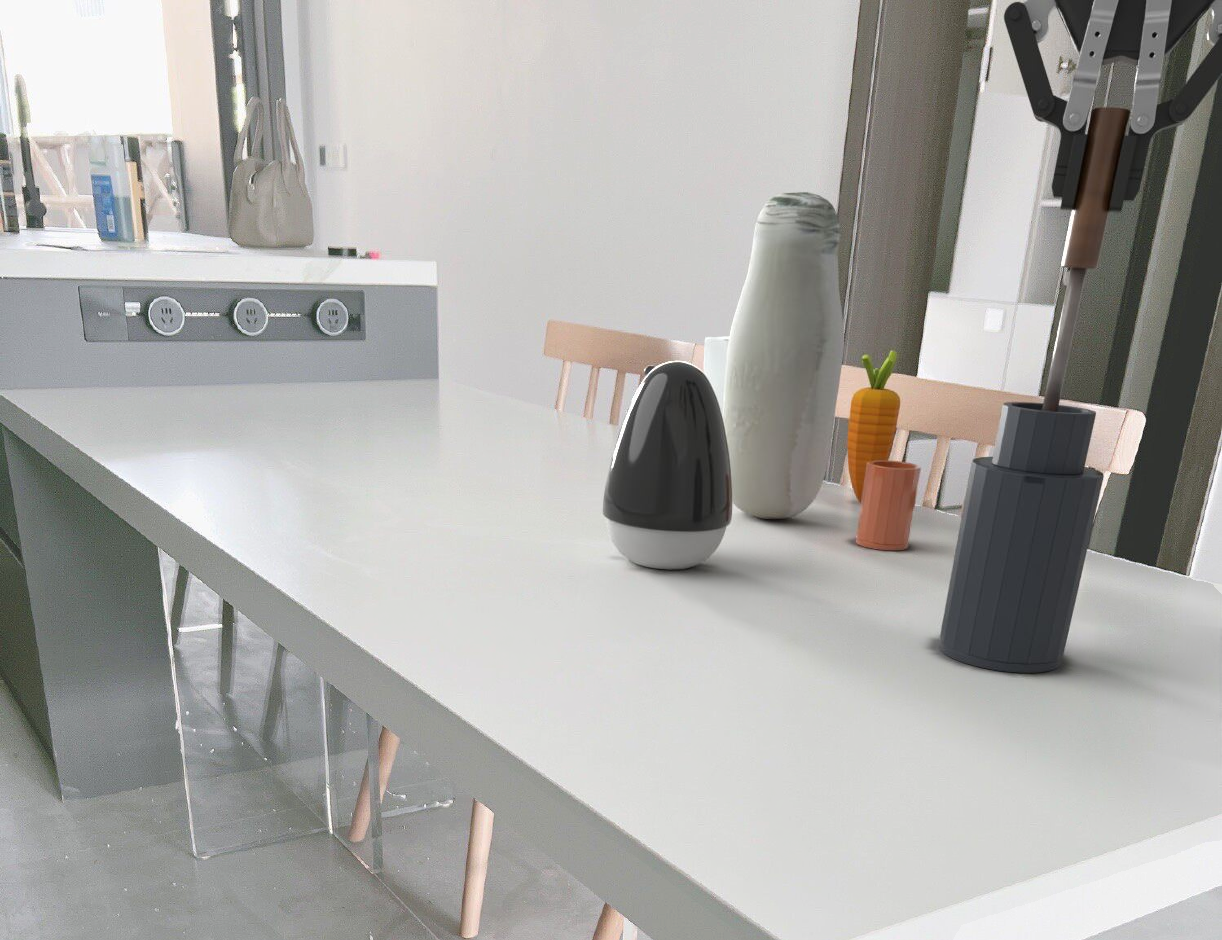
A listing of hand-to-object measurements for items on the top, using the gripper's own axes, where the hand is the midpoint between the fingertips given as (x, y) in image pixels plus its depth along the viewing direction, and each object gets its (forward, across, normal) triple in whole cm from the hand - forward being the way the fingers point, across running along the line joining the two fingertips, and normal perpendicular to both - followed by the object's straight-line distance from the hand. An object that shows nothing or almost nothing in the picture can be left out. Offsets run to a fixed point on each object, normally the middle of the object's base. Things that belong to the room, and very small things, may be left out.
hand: (1090, 209), depth 69 cm
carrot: (+26, +17, -50) cm, 59 cm away
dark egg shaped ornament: (+26, +27, -12) cm, 40 cm away
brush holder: (+26, +12, -30) cm, 42 cm away
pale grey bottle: (+26, +24, -36) cm, 51 cm away
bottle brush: (+19, 0, 0) cm, 19 cm away
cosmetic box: (+26, +32, -56) cm, 70 cm away
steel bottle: (+26, 0, 0) cm, 26 cm away
